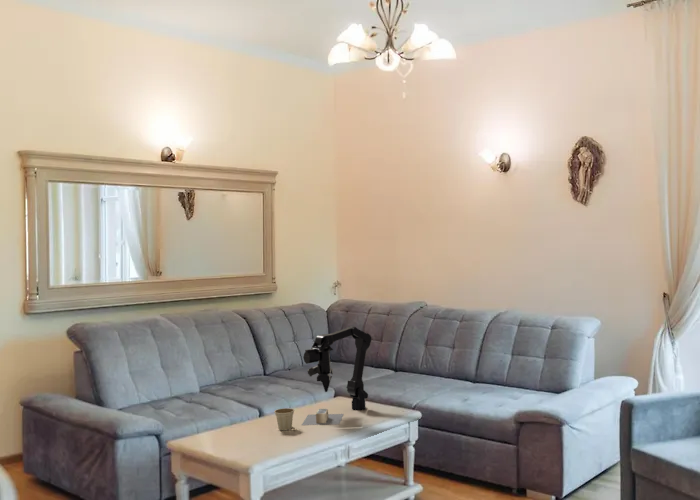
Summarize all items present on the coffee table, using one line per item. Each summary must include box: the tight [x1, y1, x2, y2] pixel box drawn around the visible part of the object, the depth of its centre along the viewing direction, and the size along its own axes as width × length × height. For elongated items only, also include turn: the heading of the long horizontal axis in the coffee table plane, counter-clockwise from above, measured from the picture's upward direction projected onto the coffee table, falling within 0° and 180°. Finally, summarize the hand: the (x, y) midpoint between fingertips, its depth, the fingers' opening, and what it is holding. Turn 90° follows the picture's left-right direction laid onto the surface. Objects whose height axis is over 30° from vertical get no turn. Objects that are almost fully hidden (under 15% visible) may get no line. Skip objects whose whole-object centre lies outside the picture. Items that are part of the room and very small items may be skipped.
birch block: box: [315, 408, 329, 423], centre depth 336 cm, size 4×4×10 cm
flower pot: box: [274, 407, 295, 431], centre depth 326 cm, size 9×9×9 cm
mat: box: [301, 413, 344, 426], centre depth 339 cm, size 18×20×1 cm
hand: (326, 391), depth 345 cm, fingers closed
